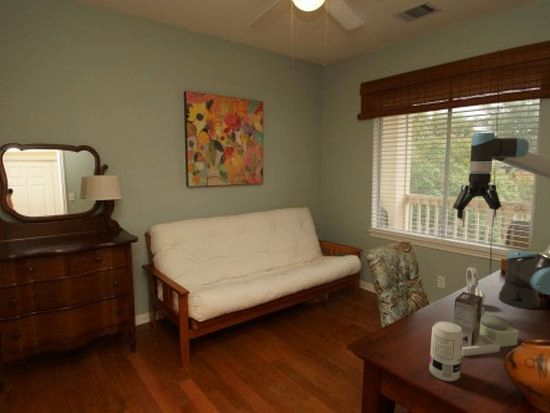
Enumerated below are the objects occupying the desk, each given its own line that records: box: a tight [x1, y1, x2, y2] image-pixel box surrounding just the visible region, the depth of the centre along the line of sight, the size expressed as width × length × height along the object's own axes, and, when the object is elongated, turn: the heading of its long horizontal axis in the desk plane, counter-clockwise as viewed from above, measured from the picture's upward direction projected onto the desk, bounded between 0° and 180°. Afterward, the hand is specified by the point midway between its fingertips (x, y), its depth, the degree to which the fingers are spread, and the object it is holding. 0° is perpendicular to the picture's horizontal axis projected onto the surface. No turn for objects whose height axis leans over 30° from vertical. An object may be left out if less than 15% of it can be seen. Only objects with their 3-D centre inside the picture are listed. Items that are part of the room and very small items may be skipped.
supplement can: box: [429, 320, 463, 382], centre depth 102 cm, size 8×8×15 cm
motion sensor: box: [465, 287, 486, 305], centre depth 150 cm, size 8×8×8 cm
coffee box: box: [452, 291, 483, 347], centre depth 119 cm, size 9×6×16 cm
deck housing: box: [462, 314, 519, 357], centre depth 121 cm, size 24×14×7 cm, turn 101°
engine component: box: [465, 267, 486, 317], centre depth 139 cm, size 11×20×10 cm
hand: (475, 225), depth 140 cm, fingers open, 13 cm apart
